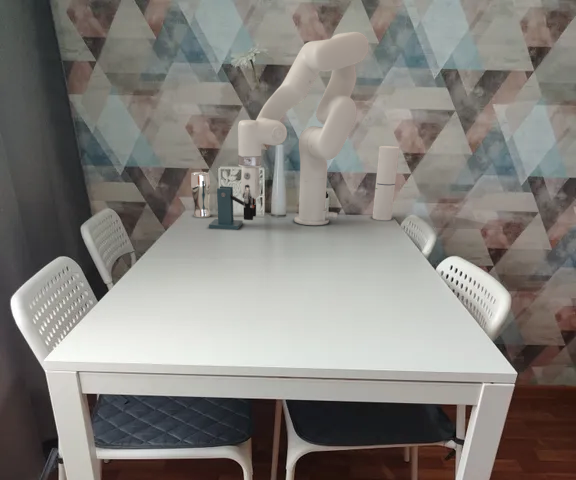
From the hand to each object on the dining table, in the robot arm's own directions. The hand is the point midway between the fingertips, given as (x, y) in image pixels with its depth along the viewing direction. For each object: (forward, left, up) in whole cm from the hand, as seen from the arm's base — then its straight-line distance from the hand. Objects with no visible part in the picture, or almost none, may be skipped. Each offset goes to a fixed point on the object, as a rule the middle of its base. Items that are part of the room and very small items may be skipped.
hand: (249, 217), depth 189 cm
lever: (+5, 0, +4) cm, 7 cm away
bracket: (+8, 0, -3) cm, 9 cm away
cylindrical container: (-47, -25, -4) cm, 53 cm away
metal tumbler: (+20, -14, -4) cm, 25 cm away
